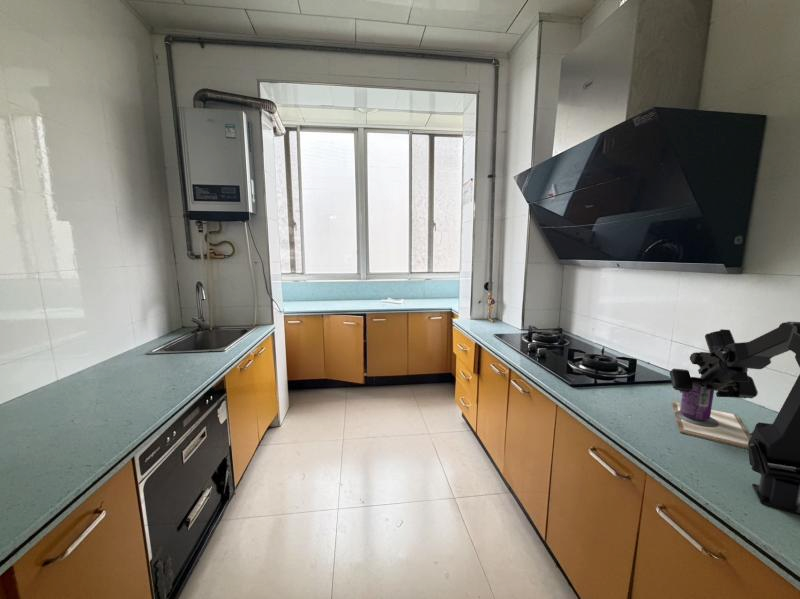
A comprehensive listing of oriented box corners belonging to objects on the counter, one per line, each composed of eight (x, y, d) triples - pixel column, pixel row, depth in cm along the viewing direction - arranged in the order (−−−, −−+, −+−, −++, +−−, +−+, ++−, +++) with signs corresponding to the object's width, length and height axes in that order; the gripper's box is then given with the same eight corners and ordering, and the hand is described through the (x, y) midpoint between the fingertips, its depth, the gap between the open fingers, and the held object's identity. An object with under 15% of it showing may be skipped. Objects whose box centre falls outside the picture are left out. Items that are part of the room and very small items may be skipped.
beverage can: (712, 417, 102) (718, 381, 100) (705, 424, 98) (710, 387, 96) (684, 408, 108) (689, 374, 106) (676, 414, 104) (680, 379, 102)
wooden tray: (758, 451, 87) (758, 448, 86) (679, 432, 96) (680, 429, 96) (736, 416, 104) (736, 413, 104) (672, 403, 113) (672, 400, 113)
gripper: (757, 349, 91) (728, 372, 103) (675, 343, 97) (657, 366, 109) (773, 387, 85) (740, 407, 96) (685, 378, 91) (664, 398, 103)
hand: (698, 393), depth 101 cm, fingers open, 9 cm apart
